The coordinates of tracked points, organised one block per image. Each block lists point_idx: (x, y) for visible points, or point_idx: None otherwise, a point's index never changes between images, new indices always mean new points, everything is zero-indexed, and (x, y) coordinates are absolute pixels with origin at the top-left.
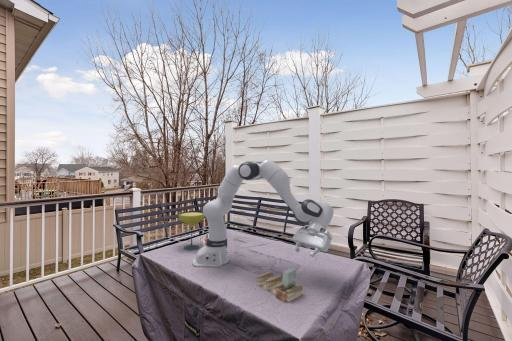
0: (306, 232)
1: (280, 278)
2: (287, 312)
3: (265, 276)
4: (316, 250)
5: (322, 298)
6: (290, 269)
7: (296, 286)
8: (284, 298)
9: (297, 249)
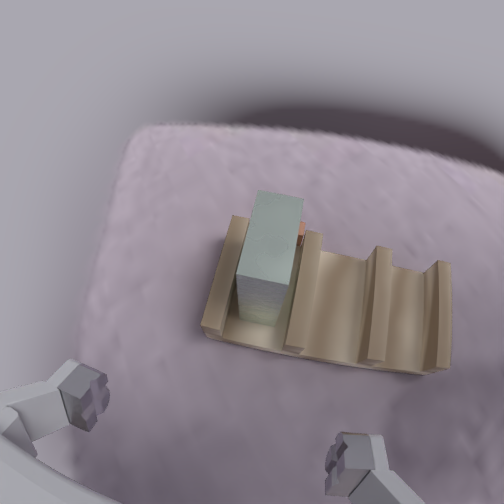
0: None
1: (365, 346)
2: (205, 183)
3: (433, 308)
4: (4, 390)
5: (112, 357)
6: (276, 252)
7: (224, 289)
8: None
9: (342, 439)
